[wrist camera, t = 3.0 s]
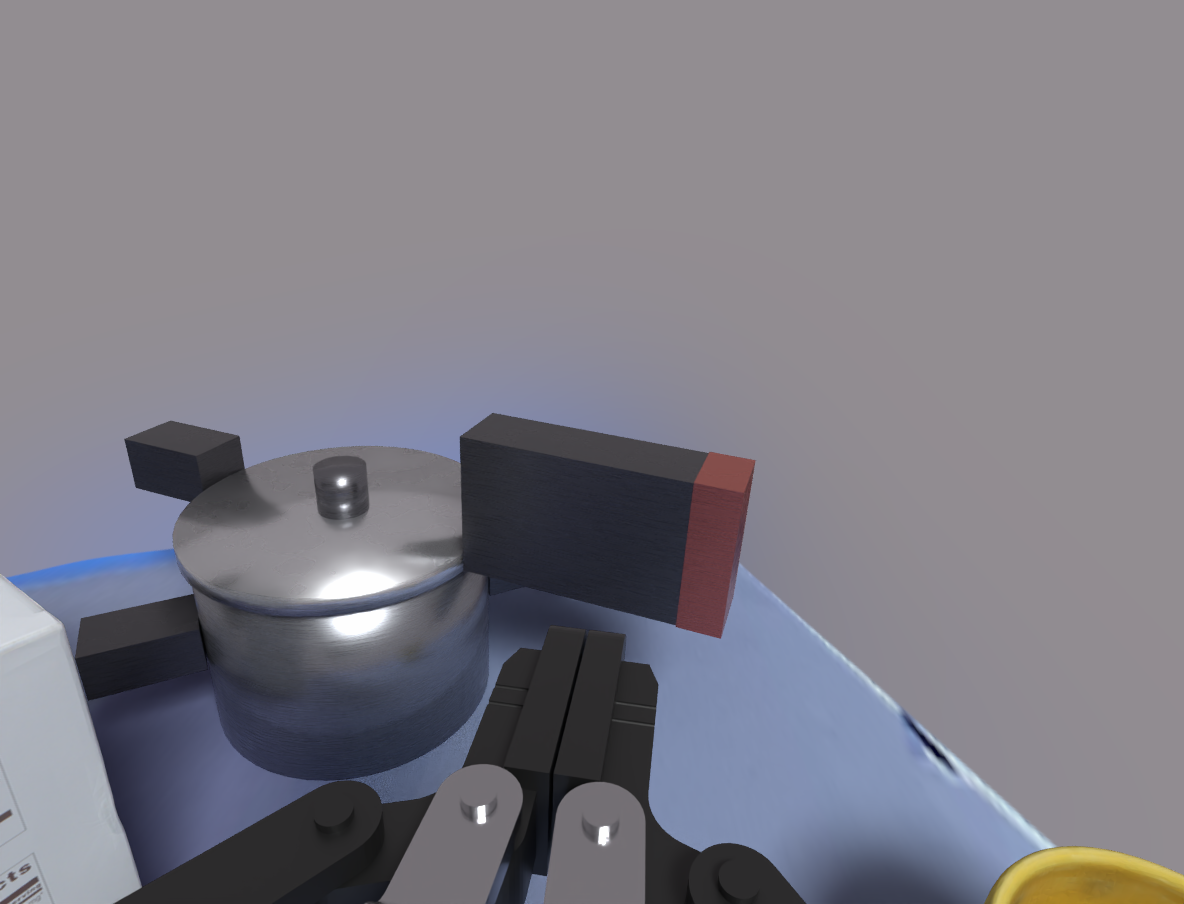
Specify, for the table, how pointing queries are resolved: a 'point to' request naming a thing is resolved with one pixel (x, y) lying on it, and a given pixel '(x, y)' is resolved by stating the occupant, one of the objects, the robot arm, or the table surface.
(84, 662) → the pot
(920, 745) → the table surface
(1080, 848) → the plant pot
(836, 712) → the table surface
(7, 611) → the supplement box
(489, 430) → the lid
